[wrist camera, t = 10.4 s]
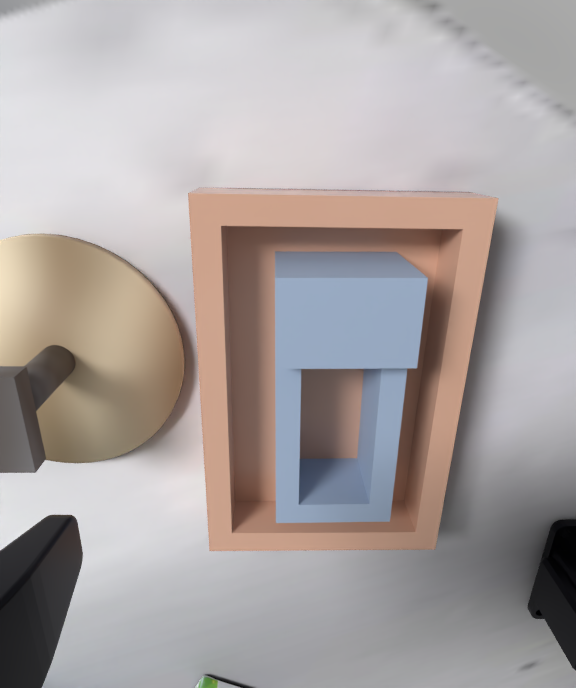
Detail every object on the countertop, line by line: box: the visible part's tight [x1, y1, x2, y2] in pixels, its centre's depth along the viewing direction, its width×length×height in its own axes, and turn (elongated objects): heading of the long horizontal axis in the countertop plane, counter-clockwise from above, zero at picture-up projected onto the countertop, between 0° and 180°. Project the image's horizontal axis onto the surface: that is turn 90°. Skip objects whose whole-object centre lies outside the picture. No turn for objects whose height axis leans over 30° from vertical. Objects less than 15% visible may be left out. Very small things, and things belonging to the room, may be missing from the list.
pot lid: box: [0, 234, 184, 473], centre depth 17 cm, size 10×10×5 cm
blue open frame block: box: [275, 251, 428, 523], centre depth 18 cm, size 10×5×4 cm, turn 0°
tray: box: [188, 188, 498, 551], centre depth 19 cm, size 10×15×2 cm, turn 179°
